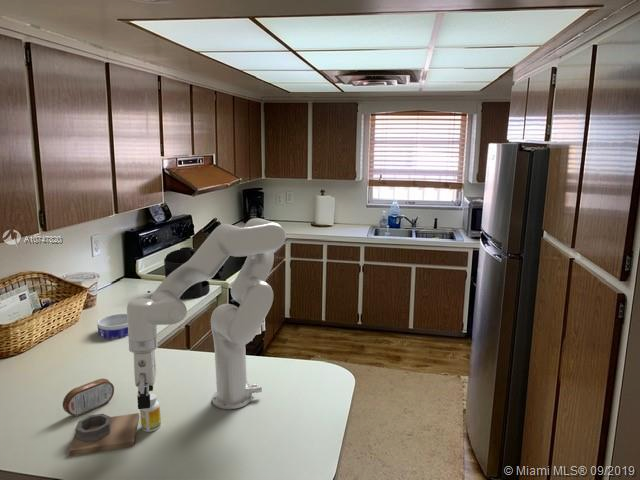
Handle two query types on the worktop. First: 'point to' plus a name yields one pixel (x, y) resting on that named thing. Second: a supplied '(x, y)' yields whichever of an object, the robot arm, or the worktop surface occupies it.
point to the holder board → (112, 439)
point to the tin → (88, 397)
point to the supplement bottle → (151, 415)
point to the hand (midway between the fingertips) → (145, 399)
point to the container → (178, 259)
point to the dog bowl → (113, 326)
